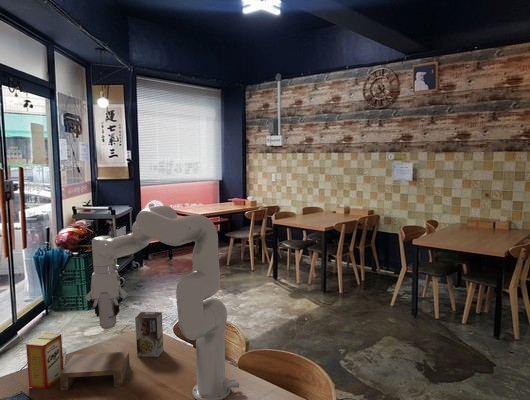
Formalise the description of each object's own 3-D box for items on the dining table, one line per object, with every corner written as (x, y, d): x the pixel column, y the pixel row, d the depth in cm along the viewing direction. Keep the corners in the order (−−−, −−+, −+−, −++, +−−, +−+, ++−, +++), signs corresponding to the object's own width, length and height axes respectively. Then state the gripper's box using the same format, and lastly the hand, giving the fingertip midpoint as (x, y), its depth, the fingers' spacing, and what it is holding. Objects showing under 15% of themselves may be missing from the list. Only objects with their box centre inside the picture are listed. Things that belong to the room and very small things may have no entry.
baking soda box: (45, 389, 147) (42, 344, 145) (29, 387, 148) (25, 343, 147) (63, 375, 156) (61, 333, 155) (47, 374, 158) (45, 332, 156)
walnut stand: (129, 366, 163) (129, 351, 162) (121, 386, 149) (120, 369, 148) (74, 369, 161) (73, 354, 160) (60, 390, 147) (59, 373, 146)
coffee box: (164, 349, 176) (162, 311, 175) (158, 357, 170) (157, 317, 168) (142, 349, 177) (140, 311, 176) (136, 356, 171) (134, 317, 169)
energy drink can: (113, 329, 162) (110, 290, 161) (97, 329, 162) (94, 290, 161) (118, 323, 168) (116, 285, 167) (103, 323, 168) (100, 286, 167)
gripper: (129, 265, 168) (132, 310, 169) (83, 267, 166) (87, 313, 168) (125, 270, 160) (128, 317, 162) (77, 272, 159) (81, 320, 160)
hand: (107, 314), depth 165 cm, fingers closed on energy drink can, 6 cm apart
